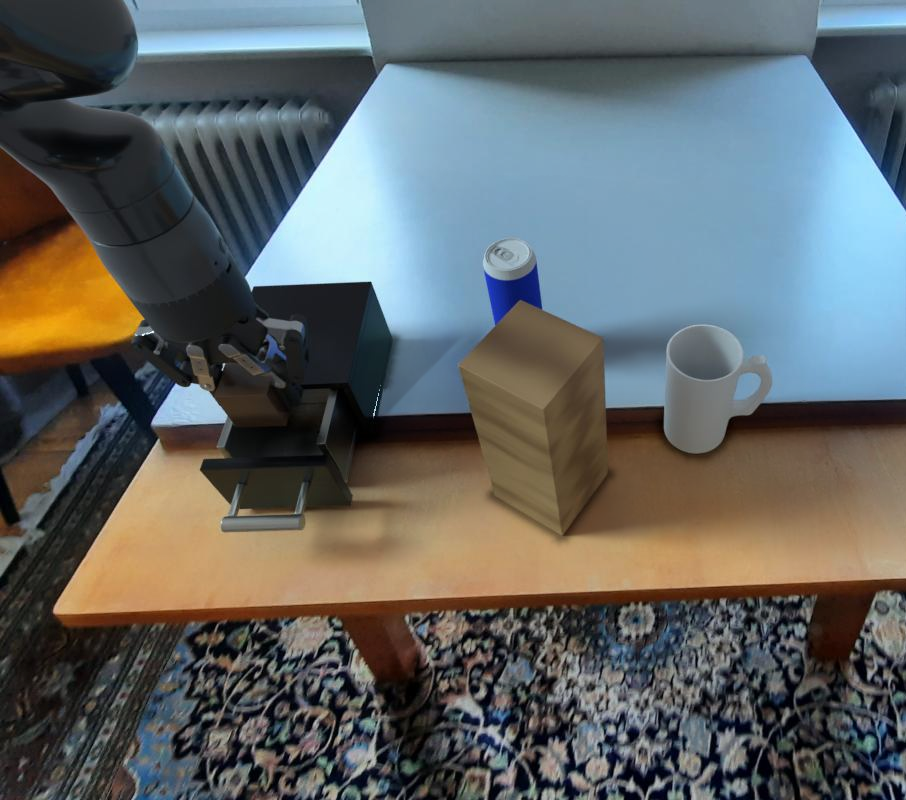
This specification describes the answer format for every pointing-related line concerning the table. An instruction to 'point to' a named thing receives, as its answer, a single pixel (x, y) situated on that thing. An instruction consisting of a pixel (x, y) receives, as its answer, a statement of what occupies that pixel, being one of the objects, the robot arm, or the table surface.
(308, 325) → the black drawer cabinet
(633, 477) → the table surface
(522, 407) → the stand
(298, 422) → the drawer
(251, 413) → the block
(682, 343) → the mug
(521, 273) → the beverage can
